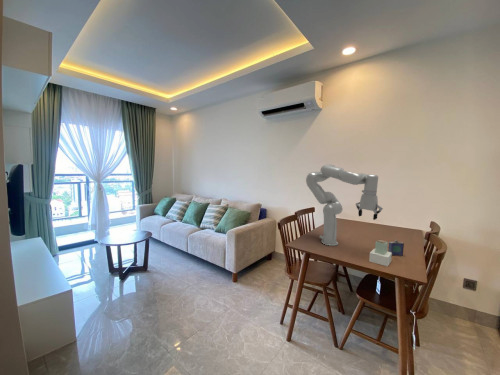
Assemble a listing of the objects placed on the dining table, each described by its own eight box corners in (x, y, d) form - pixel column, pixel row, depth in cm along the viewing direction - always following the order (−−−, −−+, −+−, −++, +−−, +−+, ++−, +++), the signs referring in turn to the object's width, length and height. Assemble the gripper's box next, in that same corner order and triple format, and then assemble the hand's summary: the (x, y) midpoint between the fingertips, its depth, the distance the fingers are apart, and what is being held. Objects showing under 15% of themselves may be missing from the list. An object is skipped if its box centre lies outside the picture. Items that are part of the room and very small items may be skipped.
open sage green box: (374, 252, 134) (375, 240, 134) (378, 250, 137) (379, 239, 136) (383, 254, 130) (384, 243, 129) (387, 253, 133) (387, 241, 132)
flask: (389, 255, 143) (390, 240, 142) (387, 253, 146) (387, 238, 145) (403, 256, 142) (405, 240, 141) (401, 254, 145) (402, 239, 144)
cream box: (369, 261, 134) (369, 252, 134) (373, 257, 141) (374, 248, 141) (387, 266, 127) (388, 257, 127) (391, 261, 134) (391, 252, 134)
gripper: (354, 191, 146) (352, 215, 148) (381, 195, 132) (378, 221, 134) (359, 190, 150) (357, 214, 153) (386, 194, 136) (383, 220, 139)
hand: (367, 217), depth 144 cm, fingers open, 9 cm apart
